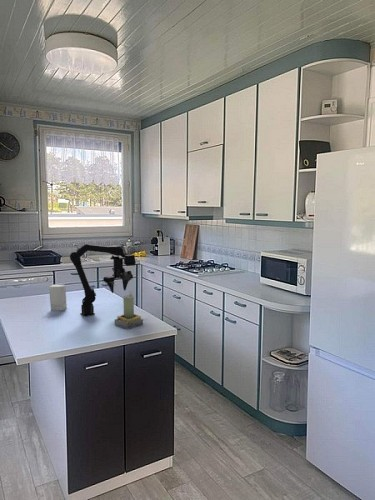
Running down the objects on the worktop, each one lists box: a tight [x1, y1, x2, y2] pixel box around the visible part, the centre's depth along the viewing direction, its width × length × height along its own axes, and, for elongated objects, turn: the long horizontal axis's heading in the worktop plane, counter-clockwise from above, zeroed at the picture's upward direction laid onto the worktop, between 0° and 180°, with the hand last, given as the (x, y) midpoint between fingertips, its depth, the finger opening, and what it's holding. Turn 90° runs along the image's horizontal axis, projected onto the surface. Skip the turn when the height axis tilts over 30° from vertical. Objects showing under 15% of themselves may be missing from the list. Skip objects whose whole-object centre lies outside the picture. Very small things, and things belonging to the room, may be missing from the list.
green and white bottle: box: [122, 291, 135, 319], centre depth 213 cm, size 6×6×15 cm
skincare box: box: [48, 284, 68, 312], centre depth 243 cm, size 8×7×16 cm
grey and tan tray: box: [114, 313, 144, 330], centre depth 213 cm, size 11×11×4 cm
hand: (118, 291), depth 236 cm, fingers open, 9 cm apart
